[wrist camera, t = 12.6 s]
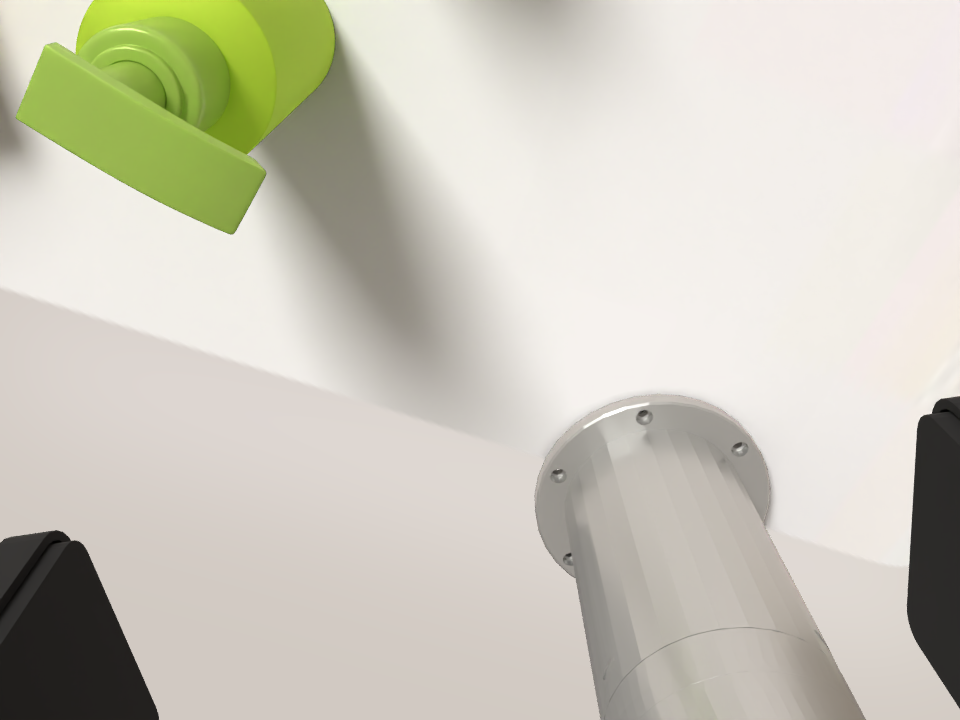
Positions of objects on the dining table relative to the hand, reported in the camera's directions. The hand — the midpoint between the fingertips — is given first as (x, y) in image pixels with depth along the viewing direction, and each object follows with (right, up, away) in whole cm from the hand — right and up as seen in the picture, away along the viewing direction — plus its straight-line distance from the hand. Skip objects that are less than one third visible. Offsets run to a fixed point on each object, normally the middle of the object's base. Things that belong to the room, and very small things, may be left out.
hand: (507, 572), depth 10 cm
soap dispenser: (-9, +16, +28) cm, 34 cm away
